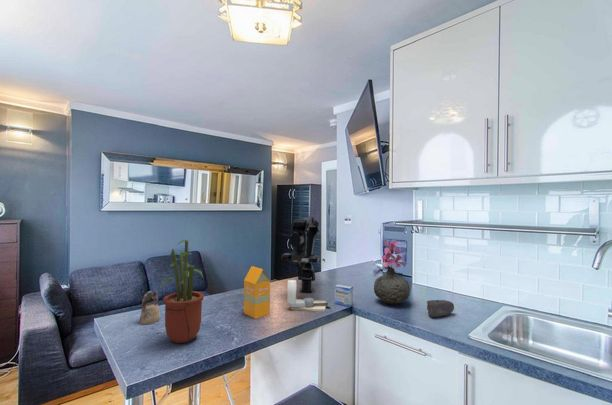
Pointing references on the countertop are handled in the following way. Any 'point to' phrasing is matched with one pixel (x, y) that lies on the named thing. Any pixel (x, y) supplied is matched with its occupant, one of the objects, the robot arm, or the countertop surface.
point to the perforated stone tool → (439, 308)
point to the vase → (391, 279)
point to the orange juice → (256, 293)
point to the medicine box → (343, 295)
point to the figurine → (149, 308)
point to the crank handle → (292, 297)
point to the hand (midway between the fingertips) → (300, 274)
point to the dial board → (315, 308)
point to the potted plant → (183, 303)
